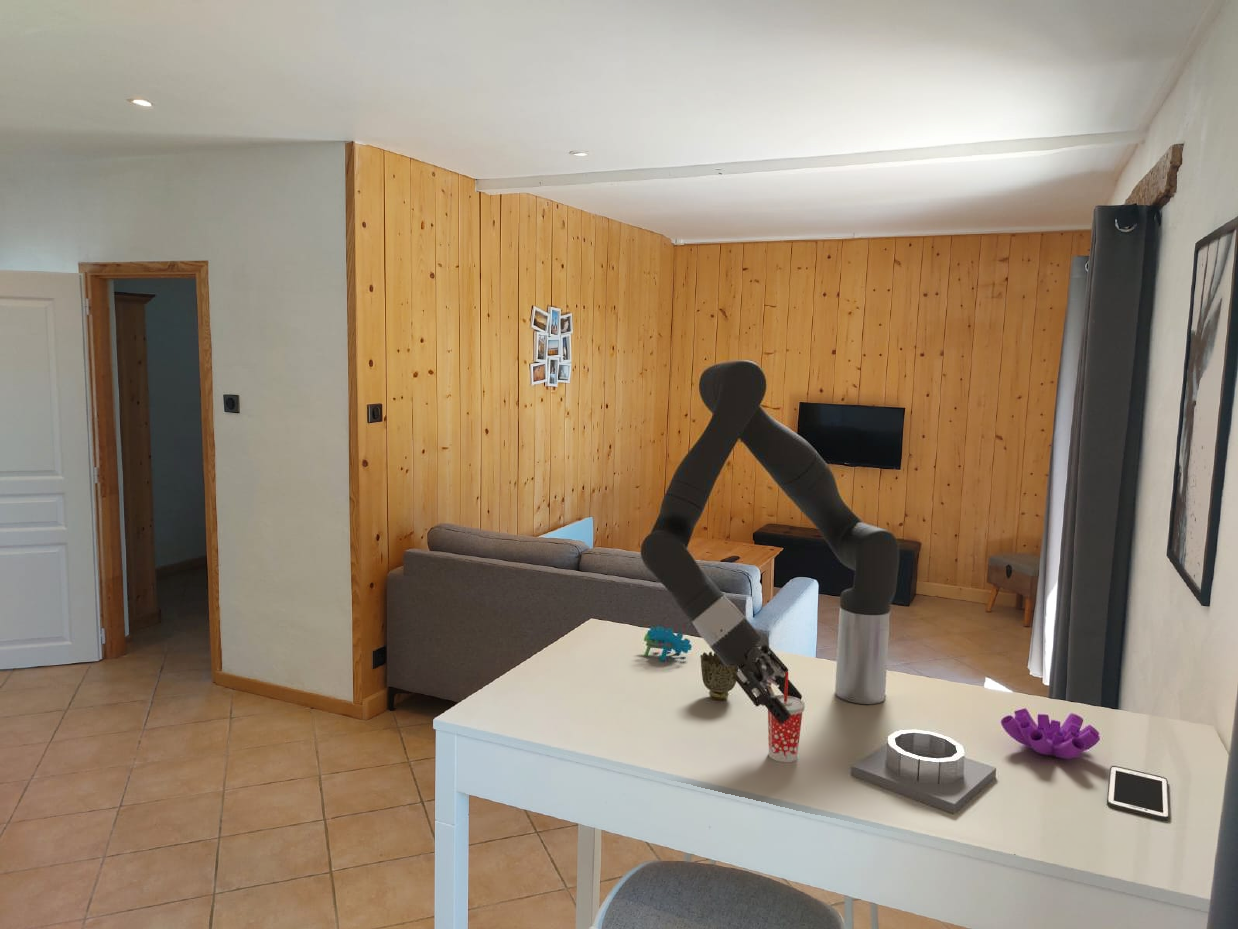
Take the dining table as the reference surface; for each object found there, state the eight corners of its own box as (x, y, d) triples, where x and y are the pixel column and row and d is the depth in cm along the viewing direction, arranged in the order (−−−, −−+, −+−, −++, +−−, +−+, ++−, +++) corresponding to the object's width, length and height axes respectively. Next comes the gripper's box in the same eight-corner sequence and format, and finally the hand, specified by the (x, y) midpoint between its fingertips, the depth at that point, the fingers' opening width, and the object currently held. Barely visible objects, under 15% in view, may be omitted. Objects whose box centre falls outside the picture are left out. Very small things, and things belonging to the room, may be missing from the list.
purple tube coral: (1098, 783, 137) (1113, 754, 131) (998, 769, 141) (1008, 740, 135) (1087, 721, 145) (1101, 690, 139) (993, 710, 149) (1002, 679, 143)
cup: (740, 706, 157) (742, 664, 156) (700, 705, 157) (702, 663, 156) (735, 691, 165) (737, 651, 164) (697, 689, 165) (699, 650, 164)
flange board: (897, 744, 143) (898, 735, 142) (995, 777, 132) (996, 767, 131) (850, 775, 131) (851, 765, 131) (953, 814, 120) (954, 804, 120)
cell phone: (1167, 783, 132) (1167, 777, 132) (1169, 825, 119) (1169, 818, 119) (1109, 770, 136) (1110, 764, 136) (1106, 809, 123) (1106, 803, 123)
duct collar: (905, 744, 139) (907, 724, 139) (973, 767, 131) (975, 745, 131) (874, 766, 131) (875, 744, 131) (944, 791, 123) (945, 768, 123)
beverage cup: (809, 761, 135) (814, 676, 134) (776, 767, 133) (780, 681, 132) (788, 745, 141) (792, 663, 140) (756, 750, 139) (760, 667, 137)
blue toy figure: (700, 650, 183) (679, 625, 177) (691, 674, 180) (670, 649, 174) (658, 646, 190) (637, 621, 184) (649, 669, 187) (627, 645, 181)
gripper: (730, 628, 131) (800, 713, 128) (753, 606, 144) (818, 683, 141) (696, 656, 134) (764, 740, 131) (722, 632, 147) (785, 707, 144)
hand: (792, 710), depth 136 cm, fingers open, 8 cm apart
